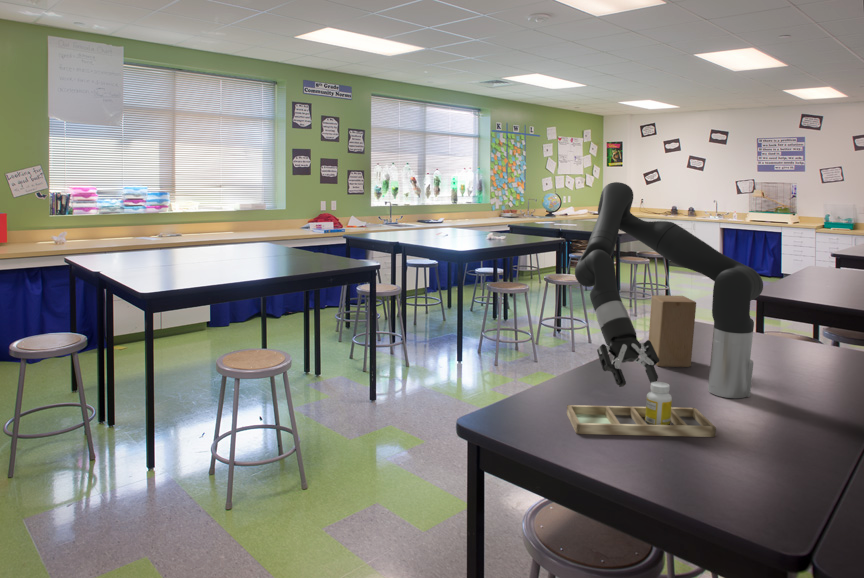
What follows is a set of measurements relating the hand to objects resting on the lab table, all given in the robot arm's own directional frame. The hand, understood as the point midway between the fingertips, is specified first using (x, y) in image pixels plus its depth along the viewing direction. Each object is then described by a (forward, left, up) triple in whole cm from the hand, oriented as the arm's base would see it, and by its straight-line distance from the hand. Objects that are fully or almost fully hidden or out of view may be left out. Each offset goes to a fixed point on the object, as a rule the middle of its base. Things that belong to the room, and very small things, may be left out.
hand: (638, 383), depth 144 cm
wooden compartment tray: (+1, +5, -8) cm, 10 cm away
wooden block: (-23, -45, -8) cm, 51 cm away
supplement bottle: (-3, +5, -8) cm, 10 cm away
